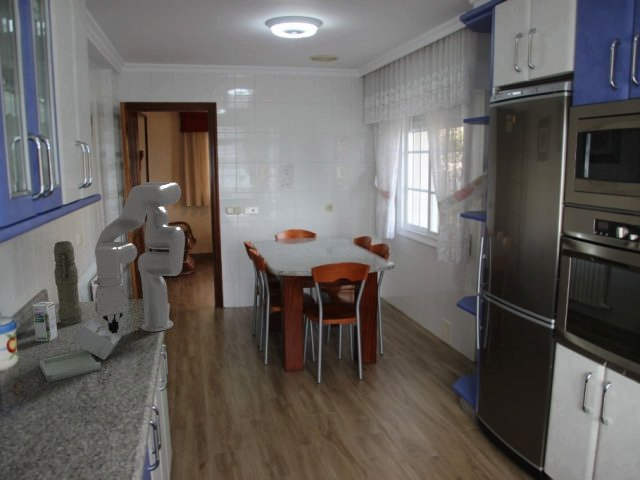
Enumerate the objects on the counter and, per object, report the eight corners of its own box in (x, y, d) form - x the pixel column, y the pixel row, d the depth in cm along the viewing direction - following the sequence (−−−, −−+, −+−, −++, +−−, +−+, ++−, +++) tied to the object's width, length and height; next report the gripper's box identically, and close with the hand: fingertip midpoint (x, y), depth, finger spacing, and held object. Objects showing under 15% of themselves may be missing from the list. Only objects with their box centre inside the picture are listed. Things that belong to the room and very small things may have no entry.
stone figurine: (81, 316, 230) (74, 239, 224) (82, 324, 219) (75, 243, 213) (59, 319, 226) (51, 240, 220) (59, 327, 216) (50, 245, 210)
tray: (39, 366, 177) (38, 360, 176) (89, 354, 186) (88, 349, 186) (48, 382, 164) (47, 376, 164) (101, 369, 174) (100, 363, 173)
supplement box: (114, 344, 180) (81, 325, 178) (104, 360, 181) (71, 342, 180) (122, 335, 187) (90, 318, 186) (112, 352, 188) (81, 334, 187)
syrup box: (35, 341, 200) (31, 305, 198) (44, 336, 206) (40, 301, 204) (49, 341, 200) (45, 305, 197) (58, 336, 206) (54, 301, 203)
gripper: (89, 287, 172) (94, 340, 175) (135, 280, 181) (138, 330, 184) (84, 283, 178) (88, 334, 181) (128, 276, 187) (131, 325, 190)
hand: (113, 332), depth 182 cm, fingers closed
